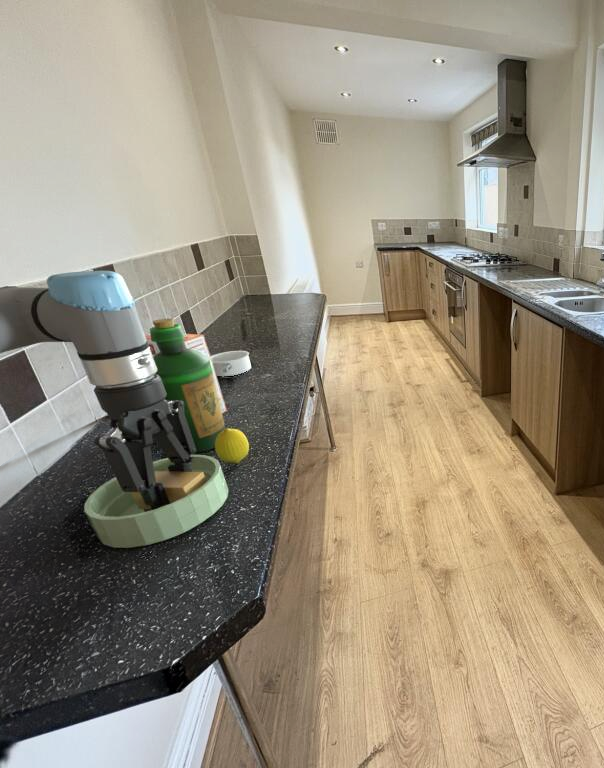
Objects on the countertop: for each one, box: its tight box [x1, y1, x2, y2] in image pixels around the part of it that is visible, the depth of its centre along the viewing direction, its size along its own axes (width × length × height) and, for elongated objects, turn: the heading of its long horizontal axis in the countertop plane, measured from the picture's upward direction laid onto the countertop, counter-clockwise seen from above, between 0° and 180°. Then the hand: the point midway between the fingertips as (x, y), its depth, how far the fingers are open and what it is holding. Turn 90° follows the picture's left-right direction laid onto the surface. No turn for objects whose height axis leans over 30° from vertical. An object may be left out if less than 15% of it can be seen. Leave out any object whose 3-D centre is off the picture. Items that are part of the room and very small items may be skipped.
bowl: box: [83, 454, 229, 549], centre depth 69 cm, size 17×17×6 cm
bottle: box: [149, 318, 226, 454], centre depth 85 cm, size 11×11×28 cm
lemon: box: [214, 427, 250, 464], centre depth 82 cm, size 6×6×8 cm
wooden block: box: [131, 471, 207, 512], centre depth 68 cm, size 9×4×6 cm, turn 88°
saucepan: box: [210, 350, 252, 378], centre depth 127 cm, size 12×20×6 cm, turn 29°
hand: (177, 506), depth 69 cm, fingers closed on wooden block, 4 cm apart
